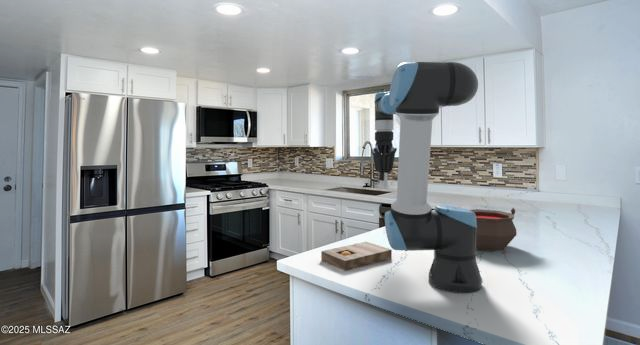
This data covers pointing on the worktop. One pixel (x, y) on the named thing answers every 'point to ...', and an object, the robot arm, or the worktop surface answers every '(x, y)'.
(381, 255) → the wooden block with hole
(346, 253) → the ball
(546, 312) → the worktop surface
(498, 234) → the brown pot
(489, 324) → the worktop surface
